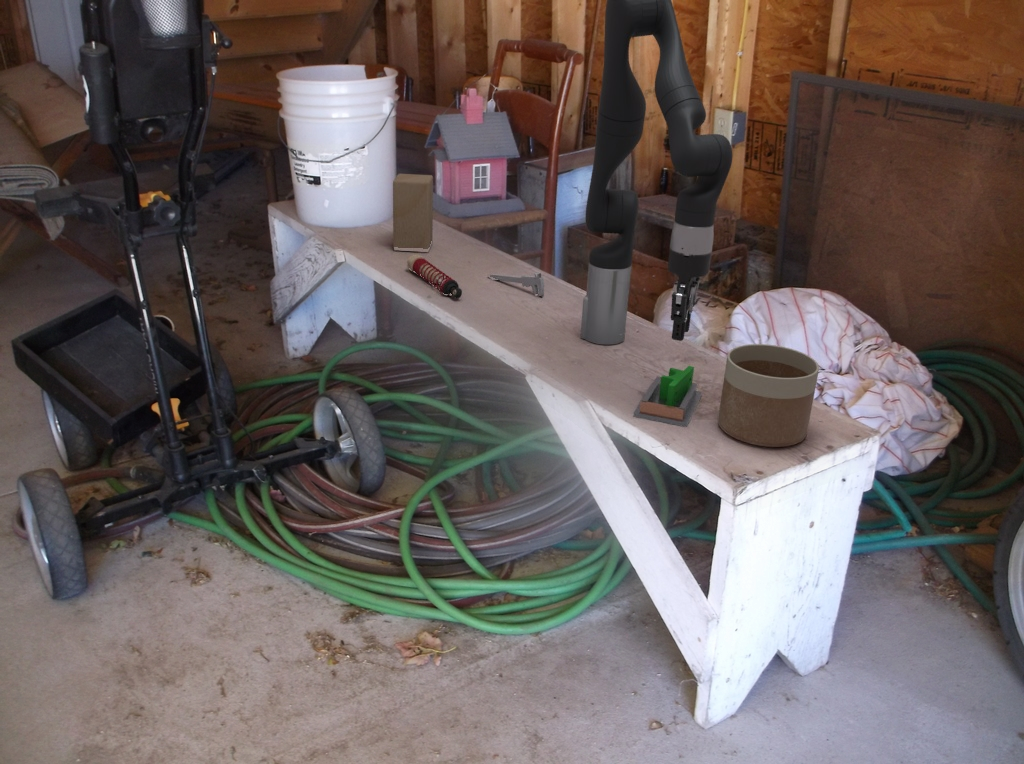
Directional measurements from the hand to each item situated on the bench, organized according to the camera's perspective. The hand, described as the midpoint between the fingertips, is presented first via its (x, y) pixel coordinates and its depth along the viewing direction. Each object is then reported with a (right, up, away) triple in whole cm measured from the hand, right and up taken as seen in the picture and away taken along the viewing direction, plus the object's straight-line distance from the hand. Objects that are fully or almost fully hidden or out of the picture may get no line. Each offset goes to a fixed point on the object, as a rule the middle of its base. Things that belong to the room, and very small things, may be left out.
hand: (680, 334), depth 179 cm
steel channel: (-2, -13, +2) cm, 14 cm away
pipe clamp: (0, -12, +5) cm, 13 cm away
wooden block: (-60, +29, +93) cm, 115 cm away
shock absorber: (-52, +16, +64) cm, 84 cm away
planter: (+14, -18, -5) cm, 23 cm away
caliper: (-31, +15, +64) cm, 73 cm away
